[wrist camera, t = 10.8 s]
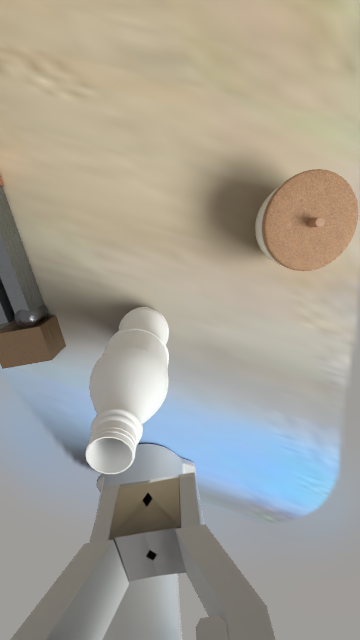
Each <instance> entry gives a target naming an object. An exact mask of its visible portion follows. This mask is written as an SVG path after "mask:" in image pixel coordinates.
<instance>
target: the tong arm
mask: <svg viewBox="0 0 360 640" xmlns="http://www.w3.org/2000/svg"><path fill="white" fill-rule="evenodd" d="M2 186H4V185H3V182H2V179H1V176H0V278H1V280H2V283H3V285H4V288H5V290H6V293H7V295H8V298H9V300H10V303H11V306H12V308H13V311H14V313H15V321H16V323H17V324H18V325H19V326H20V327H22V328H27V327H32V326H33V325H35V324H36V323H38V322H40V321H41V320H43V319H44V318H46V317H47V315H48V309H47V307H46V306H45V305H44V303H43V300H42V298H41V295H40V292H39V289H38V286H37V284H36V281H35V278H34V275H33V272H32V269H31V267H30V264H29V261H28V258H27V255H26V252H25V250H24V247H23V244H22V241H21V238H20V236H19V233H18V230H17V227H16V224H15V221H14V219H13V216H12V213H11V210H10V207H9V204H8V202H7V199H6V196H5V193H4V190H3V187H2Z"/></svg>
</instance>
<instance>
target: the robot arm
mask: <svg viewBox="0 0 360 640" xmlns="http://www.w3.org/2000/svg"><path fill="white" fill-rule="evenodd" d="M195 472H196V466H195V464H194V463H193V462H191V461H189V460H186V459H183V458H180V457H179V456H177V455H176V454H175V453H174V452H172V451H171V450H169V449H167V448H165V447H162V446H159V445H155V444H138V445H137V446H136V450H135V458H134V460H133V463H132V464H131V466H130V467H129V468H127V469H126V470H125V471H123V472H120V473H117V474H104V473H103V474H102V475H100V477H99V478H98V479H97V488H98V489H99V490H100V492H101V494H100V499H99V504H98V509H97V515H96V520H95V523H94V527H93V531H92V535H91V538H90V542H89V543H87V544H84V545H83V546H82V548H81V549H80V550H79V552H78V553H77V554H76V556H75V557H74V558H73V559H72V561H71V562H70V563H69V565H68V566H67V567H66V568H65V570H64V571H63V572H62V574H61V575H60V576H59V577H58V579H57V580H56V581H55V583H54V584H53V585H52V587H51V588H50V589H49V590H48V592H47V593H46V594H45V596H44V597H43V598H42V599H41V601H40V602H39V604H38V605H37V606H36V607H35V609H34V610H33V611H32V612H31V614H30V615H29V616H28V618H27V619H26V620H25V622H24V623H23V624H22V625H21V627H20V628H19V629H18V631H17V632H16V633H15V634H14V636H13V637H12V639H11V640H183V639H182V629H181V618H180V604H179V586H178V573H185V572H186V573H187V575H188V578H189V579H190V581H191V583H192V585H193V587H194V589H195V591H196V593H197V595H198V597H199V598H200V600H201V602H202V604H203V606H204V608H205V610H206V612H207V614H208V616H209V617H205V618H201V619H200V620H199V622H198V624H197V626H196V639H197V640H275V636H274V632H273V629H272V625H271V621H270V618H269V614H268V610H267V606H266V605H265V603H264V602H263V601H262V599H261V598H260V597H259V596H258V594H257V593H256V592H255V590H254V589H253V588H252V586H251V585H250V583H249V582H248V581H247V579H246V578H245V577H244V575H243V574H242V573H241V571H240V570H239V569H238V567H237V566H236V565H235V563H234V562H233V561H232V559H231V558H230V557H229V556H228V554H227V553H226V551H225V550H224V549H223V548H222V546H221V545H220V543H219V542H218V541H217V539H216V538H215V537H214V535H213V534H212V533H211V531H210V530H209V529H208V527H207V526H206V525H205V524H204V522H203V514H202V508H201V502H200V496H199V491H198V486H197V481H196V475H195Z"/></svg>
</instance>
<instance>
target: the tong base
mask: <svg viewBox="0 0 360 640" xmlns="http://www.w3.org/2000/svg"><path fill="white" fill-rule="evenodd" d="M13 320H15V313H14V311H13V308H12V306H11V303H10V300H9V298H8V295H7V293H6V290H5V288H4V285H3V283H2V280H1V278H0V324H5V323H9V322H11V321H13ZM65 346H66V345H65V342H64V339H63V336H62V333H61V330H60V327H59V324H58V321H57V318H56V316H52V317H46V318H44V319H43V320H41V321H40V322H38V323H36V324H35V325H33V326H32V327H27V328H22V327H20V326H19V325H18V324H17V323H12V324H9V325H7V326H5V327H3V328H2V329H0V364H1V366H2V369H3V368H9V367H15V366H20V365H26V364H32V363H38V362H43V361H49V360H52V359H53V358H54V357H55V356H56V355H57V354H58V353H59V352H60V351H61V350H62V349H63V348H64V347H65Z"/></svg>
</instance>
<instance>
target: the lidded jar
mask: <svg viewBox="0 0 360 640" xmlns="http://www.w3.org/2000/svg"><path fill="white" fill-rule="evenodd" d="M357 220H358V205H357V200H356V197H355V194H354V192H353V190H352V188H351V186H350V185H349V184H348V183H347V181H346V180H344V179H343V178H342V177H341V176H339V175H338V174H336V173H334V172H331V171H328V170H321V169H319V170H309V171H305V172H302V173H300V174H297V175H295V176H293V177H292V178H290V179H289V180H287V181H286V182H284V183H283V184H282V185H280V186H279V187H277V188H276V189H275V190H274V191H273V192H272V193H271V194H270V195H269V196H268V197H267V198H266V200H265V201H264V203H263V204H262V206H261V208H260V210H259V212H258V215H257V218H256V223H255V234H256V239H257V242H258V245H259V247H260V248H261V250H262V251H263V253H264V254H265V255H266V256H267V257H268V258H269V259H271V260H272V261H274V262H275V263H277V264H279V265H282V266H285V267H287V268H290V269H293V270H299V271H310V270H315V269H318V268H321V267H323V266H325V265H327V264H329V263H331V262H332V261H333V260H335V259H336V258H337V257H338V256H339V255H340V254H341V253H342V252H343V251H344V250H345V248H346V247H347V246H348V244H349V242H350V241H351V239H352V237H353V235H354V232H355V229H356V225H357Z"/></svg>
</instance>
